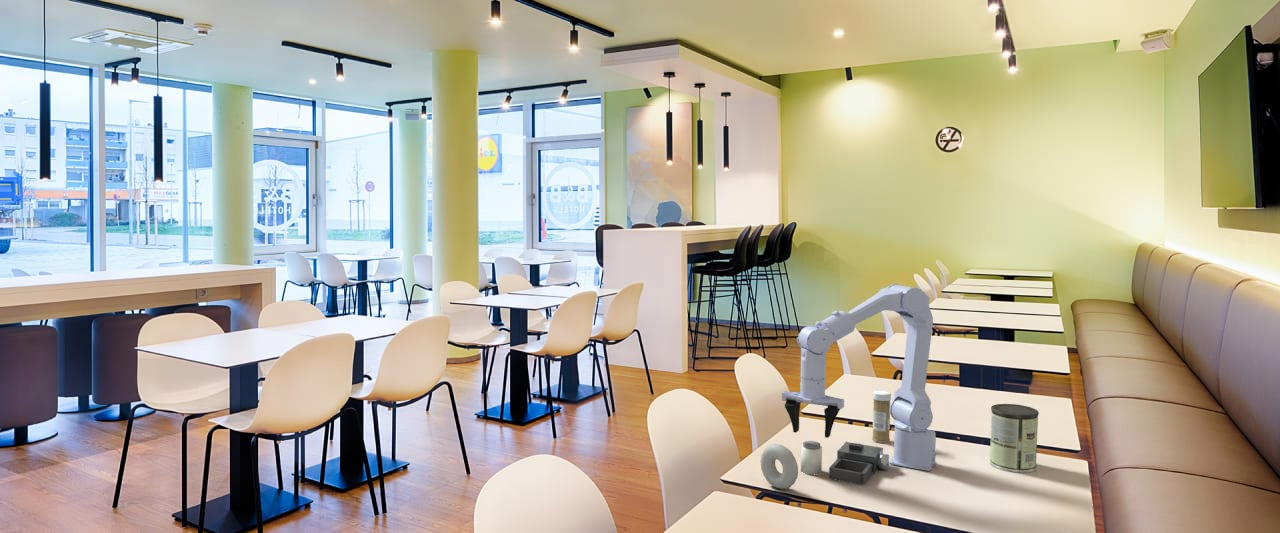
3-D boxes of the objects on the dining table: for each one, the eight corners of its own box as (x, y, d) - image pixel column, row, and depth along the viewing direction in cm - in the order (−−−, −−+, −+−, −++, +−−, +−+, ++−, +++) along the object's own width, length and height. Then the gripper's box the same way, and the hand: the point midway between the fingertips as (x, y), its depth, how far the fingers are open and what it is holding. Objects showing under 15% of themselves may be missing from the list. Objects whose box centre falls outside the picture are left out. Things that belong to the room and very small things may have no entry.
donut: (756, 483, 168) (757, 440, 168) (767, 479, 170) (767, 437, 170) (790, 496, 161) (791, 451, 160) (801, 493, 163) (802, 448, 162)
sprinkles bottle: (893, 441, 198) (894, 392, 197) (882, 444, 196) (883, 395, 195) (879, 437, 202) (880, 389, 201) (868, 440, 199) (869, 391, 198)
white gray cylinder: (824, 470, 177) (824, 442, 176) (817, 476, 173) (818, 448, 172) (804, 466, 179) (805, 439, 179) (798, 472, 175) (798, 444, 175)
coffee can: (996, 455, 187) (999, 401, 186) (1041, 465, 180) (1044, 408, 179) (982, 466, 180) (985, 409, 179) (1029, 476, 173) (1031, 417, 172)
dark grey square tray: (873, 472, 175) (873, 462, 175) (863, 485, 167) (864, 474, 167) (839, 466, 179) (839, 456, 179) (828, 478, 171) (828, 468, 171)
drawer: (891, 465, 180) (891, 445, 180) (883, 475, 173) (884, 454, 173) (845, 457, 186) (846, 438, 185) (836, 467, 179) (837, 446, 178)
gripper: (777, 377, 174) (776, 433, 175) (838, 384, 167) (837, 443, 168) (787, 371, 180) (786, 425, 182) (847, 378, 173) (845, 435, 174)
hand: (811, 433), depth 175 cm, fingers open, 7 cm apart
